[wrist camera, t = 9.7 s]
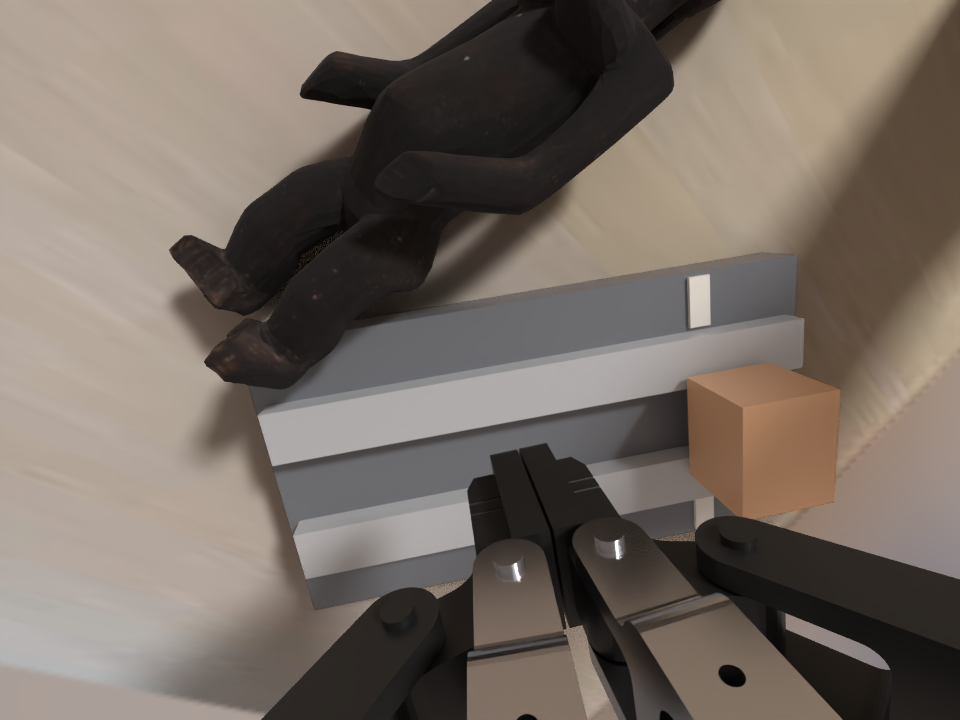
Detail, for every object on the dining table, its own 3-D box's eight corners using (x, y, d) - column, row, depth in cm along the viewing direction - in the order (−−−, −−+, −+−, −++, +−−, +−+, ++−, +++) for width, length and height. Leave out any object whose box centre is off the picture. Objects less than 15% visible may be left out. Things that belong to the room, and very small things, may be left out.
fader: (751, 355, 23) (840, 389, 18) (750, 448, 25) (833, 502, 20) (673, 370, 23) (742, 407, 18) (677, 462, 24) (742, 521, 20)
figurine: (190, 230, 22) (59, 232, 14) (737, -210, 20) (942, -497, 12) (310, 363, 24) (255, 429, 16) (813, -20, 22) (1029, -157, 14)
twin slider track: (761, 252, 25) (817, 255, 22) (758, 487, 29) (805, 523, 25) (256, 336, 23) (226, 355, 20) (324, 576, 27) (309, 628, 23)
